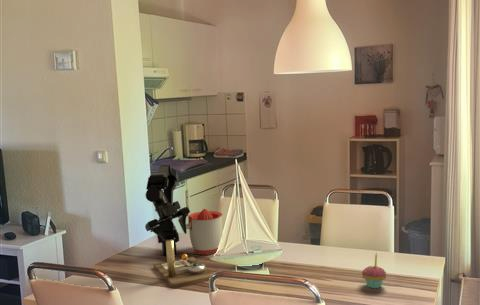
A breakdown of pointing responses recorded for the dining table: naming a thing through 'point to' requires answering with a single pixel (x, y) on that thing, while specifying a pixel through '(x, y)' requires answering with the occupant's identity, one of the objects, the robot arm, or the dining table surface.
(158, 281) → the dining table surface
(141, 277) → the dining table surface
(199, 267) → the capstan cam
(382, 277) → the cupcake
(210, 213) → the citrus juicer
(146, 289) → the dining table surface
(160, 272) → the level stand
